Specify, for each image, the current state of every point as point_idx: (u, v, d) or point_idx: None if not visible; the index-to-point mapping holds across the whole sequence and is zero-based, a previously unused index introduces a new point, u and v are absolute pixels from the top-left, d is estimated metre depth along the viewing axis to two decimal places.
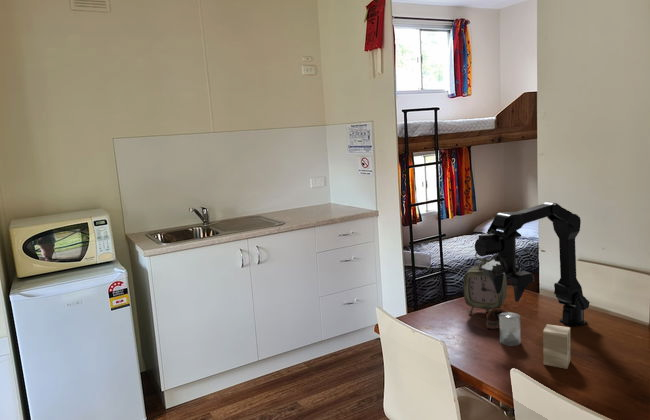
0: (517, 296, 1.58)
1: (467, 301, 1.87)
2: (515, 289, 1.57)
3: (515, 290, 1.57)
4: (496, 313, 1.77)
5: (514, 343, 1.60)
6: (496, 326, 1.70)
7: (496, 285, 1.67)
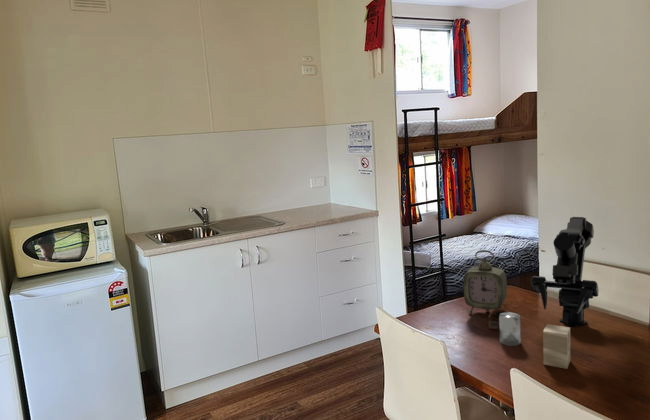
0: (580, 306, 1.49)
1: (467, 301, 1.87)
2: (582, 297, 1.50)
3: (581, 298, 1.50)
4: (498, 313, 1.76)
5: (514, 343, 1.60)
6: (498, 326, 1.69)
7: (545, 299, 1.55)
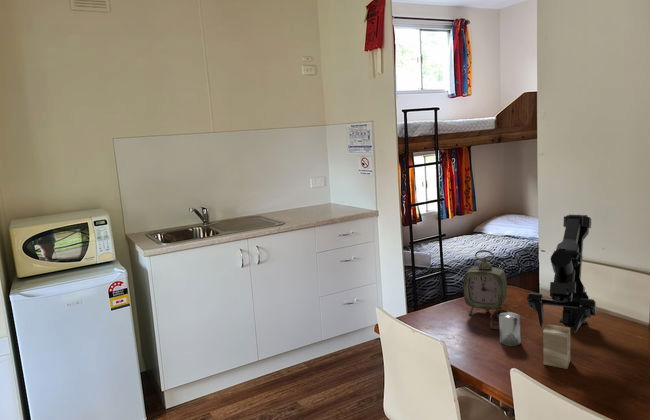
0: (578, 325, 1.45)
1: (467, 301, 1.87)
2: (580, 316, 1.45)
3: (579, 317, 1.45)
4: (500, 313, 1.76)
5: (514, 343, 1.60)
6: None
7: (541, 317, 1.50)
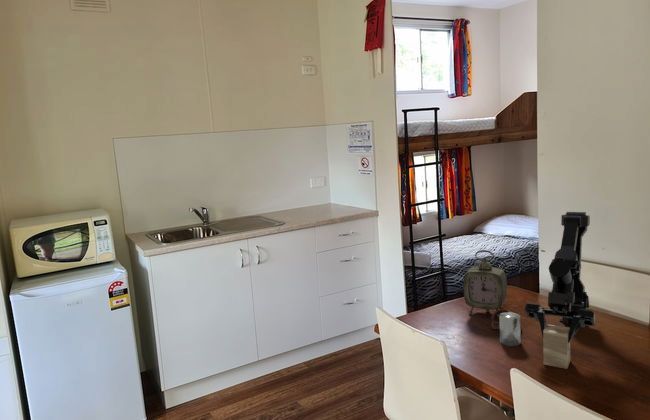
0: (572, 335, 1.43)
1: (467, 301, 1.87)
2: (573, 326, 1.43)
3: (573, 327, 1.43)
4: None
5: (514, 343, 1.60)
6: None
7: (544, 328, 1.48)
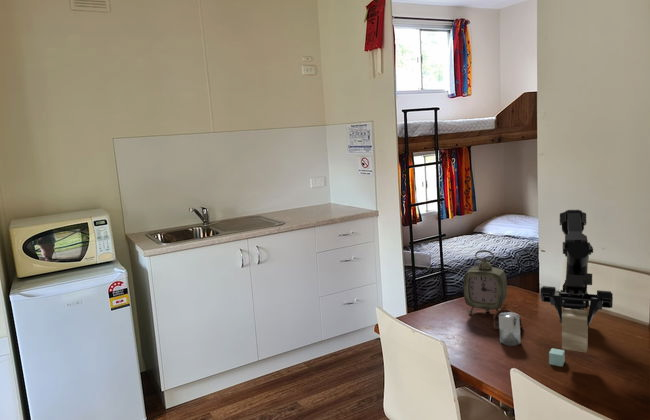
0: (591, 318, 1.40)
1: (467, 301, 1.87)
2: (592, 308, 1.40)
3: (592, 309, 1.40)
4: None
5: (514, 343, 1.60)
6: None
7: (561, 312, 1.44)
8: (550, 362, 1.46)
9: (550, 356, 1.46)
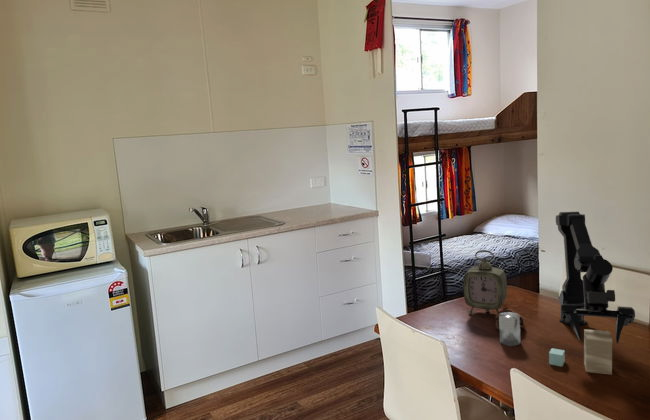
0: (619, 335, 1.38)
1: (467, 301, 1.87)
2: (620, 325, 1.38)
3: (620, 327, 1.38)
4: None
5: (513, 343, 1.60)
6: None
7: (579, 329, 1.42)
8: (550, 362, 1.46)
9: (550, 356, 1.46)
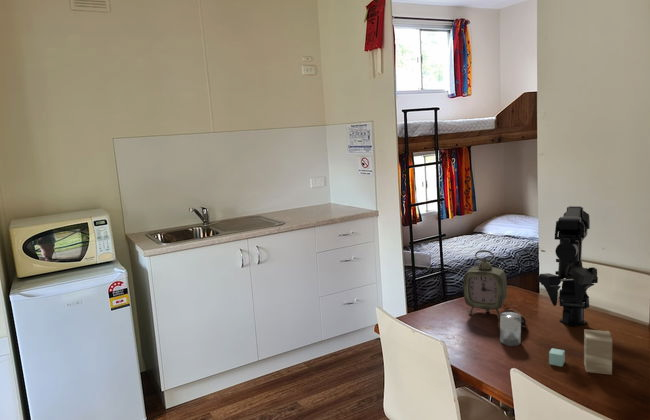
0: None
1: (467, 301, 1.87)
2: (585, 290, 1.59)
3: (584, 291, 1.59)
4: None
5: (513, 343, 1.60)
6: None
7: None
8: (550, 362, 1.46)
9: (550, 356, 1.46)
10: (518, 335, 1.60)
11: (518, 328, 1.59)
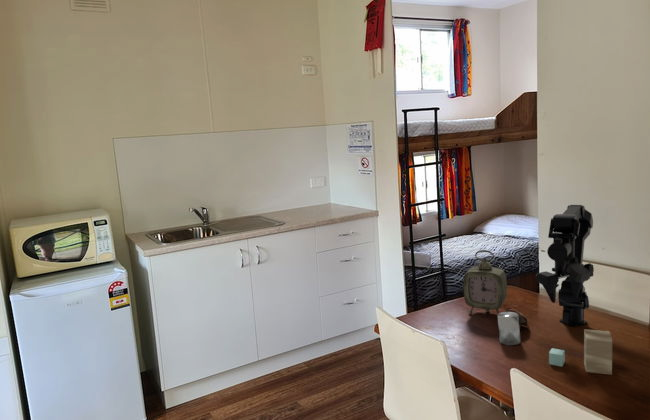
0: None
1: (467, 301, 1.87)
2: (581, 284, 1.61)
3: (581, 285, 1.61)
4: None
5: (511, 342, 1.60)
6: None
7: None
8: (550, 362, 1.46)
9: (550, 356, 1.46)
10: (516, 334, 1.60)
11: (515, 327, 1.60)
